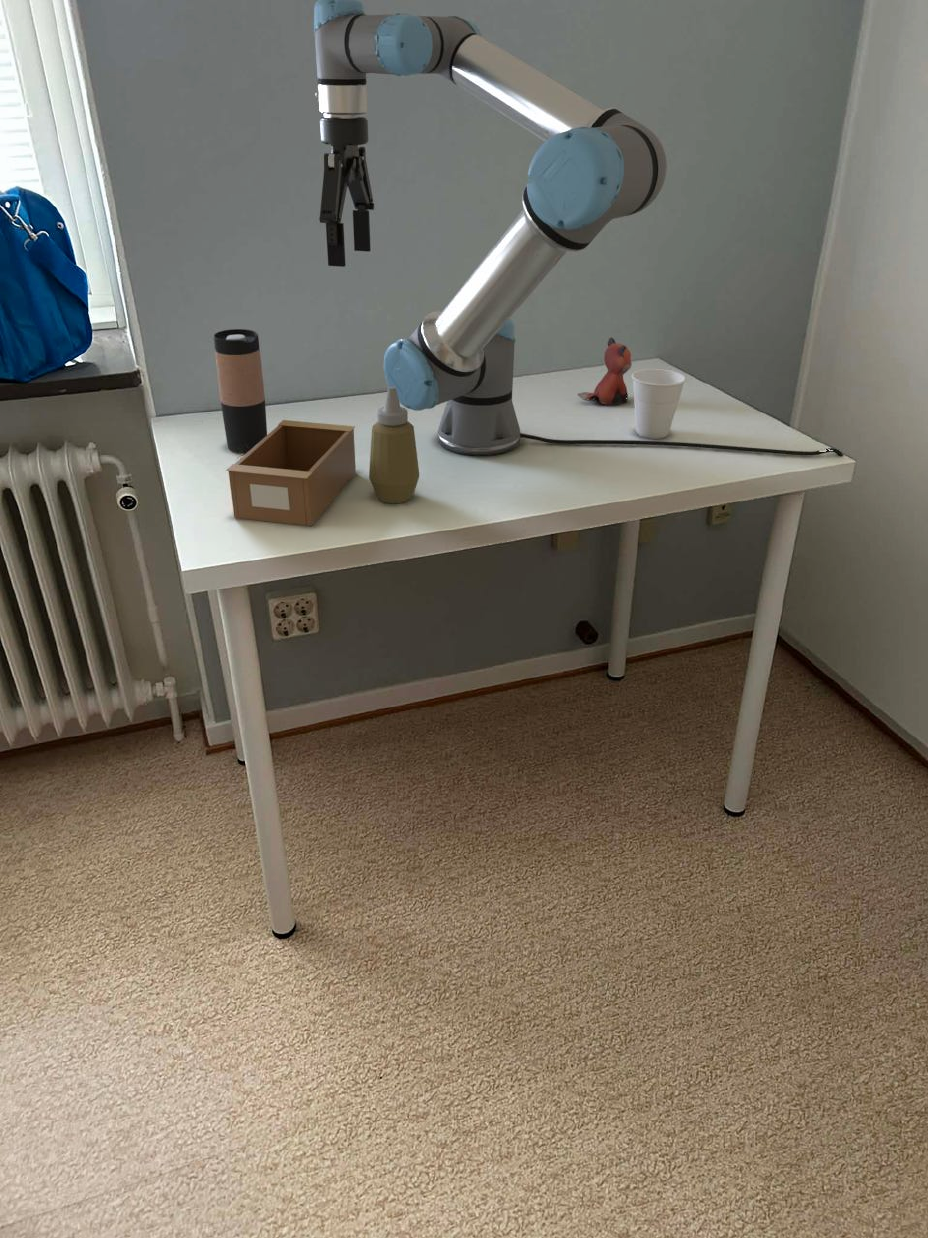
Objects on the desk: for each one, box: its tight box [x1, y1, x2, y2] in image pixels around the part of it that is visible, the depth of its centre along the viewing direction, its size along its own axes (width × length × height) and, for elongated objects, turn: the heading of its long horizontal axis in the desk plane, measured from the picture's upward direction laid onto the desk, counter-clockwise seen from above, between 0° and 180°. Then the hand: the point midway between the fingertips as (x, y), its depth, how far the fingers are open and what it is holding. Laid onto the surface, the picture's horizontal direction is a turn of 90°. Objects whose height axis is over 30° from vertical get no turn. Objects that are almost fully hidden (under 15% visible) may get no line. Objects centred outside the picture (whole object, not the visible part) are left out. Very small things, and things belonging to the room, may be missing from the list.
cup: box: [631, 368, 687, 440], centre depth 179 cm, size 10×10×11 cm
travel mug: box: [213, 328, 268, 454], centre depth 168 cm, size 8×8×20 cm
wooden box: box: [225, 419, 357, 527], centre depth 153 cm, size 13×23×8 cm, turn 167°
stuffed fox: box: [577, 337, 632, 406], centre depth 195 cm, size 8×11×12 cm
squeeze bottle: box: [368, 386, 420, 504], centre depth 150 cm, size 8×8×18 cm
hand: (350, 258), depth 161 cm, fingers open, 13 cm apart
